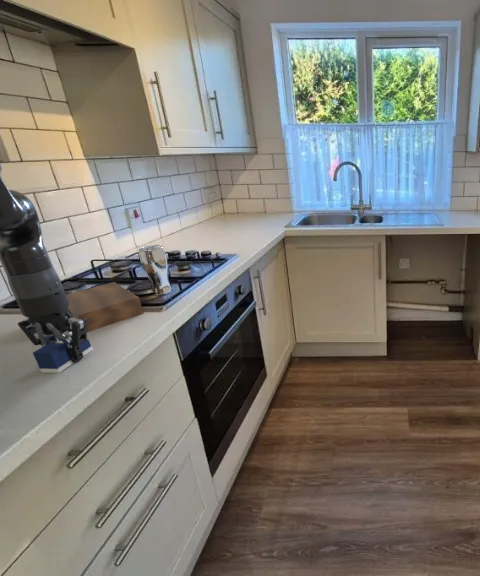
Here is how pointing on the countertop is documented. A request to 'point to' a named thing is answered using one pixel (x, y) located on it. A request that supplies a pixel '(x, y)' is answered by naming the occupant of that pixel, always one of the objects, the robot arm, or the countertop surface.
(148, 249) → the beer glass
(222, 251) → the countertop surface
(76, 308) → the wooden display riser
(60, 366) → the blue stepped sponge
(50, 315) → the robot arm
